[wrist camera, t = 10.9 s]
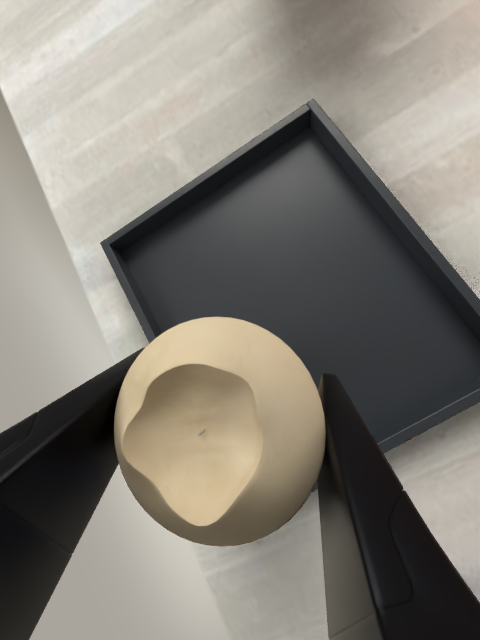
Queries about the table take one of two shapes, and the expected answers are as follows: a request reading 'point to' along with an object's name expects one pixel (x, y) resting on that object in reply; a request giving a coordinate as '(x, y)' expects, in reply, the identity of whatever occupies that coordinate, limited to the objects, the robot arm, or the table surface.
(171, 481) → the candle
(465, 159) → the table surface
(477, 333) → the tray
